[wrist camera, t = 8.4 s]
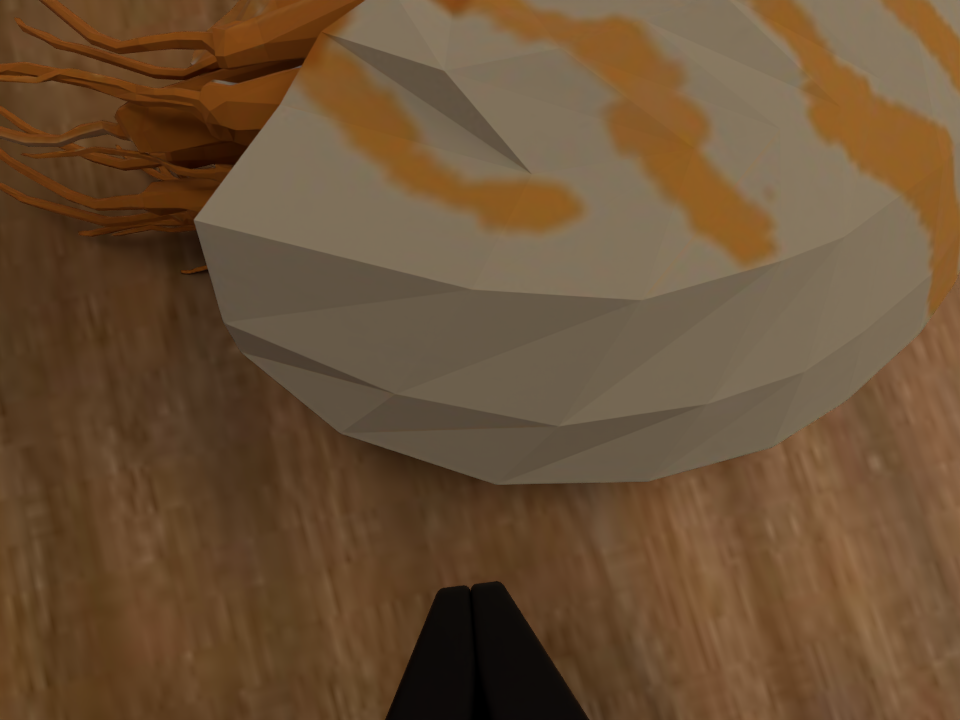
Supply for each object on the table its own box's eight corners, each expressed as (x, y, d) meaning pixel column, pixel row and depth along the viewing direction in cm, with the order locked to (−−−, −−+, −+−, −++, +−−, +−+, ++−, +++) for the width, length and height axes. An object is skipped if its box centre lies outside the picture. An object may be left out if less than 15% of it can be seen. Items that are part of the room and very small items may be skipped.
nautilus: (-39, 433, 17) (137, -56, 21) (903, 562, 15) (882, -7, 19) (-509, 312, 9) (-80, -415, 13) (1317, 546, 7) (1124, -397, 11)
